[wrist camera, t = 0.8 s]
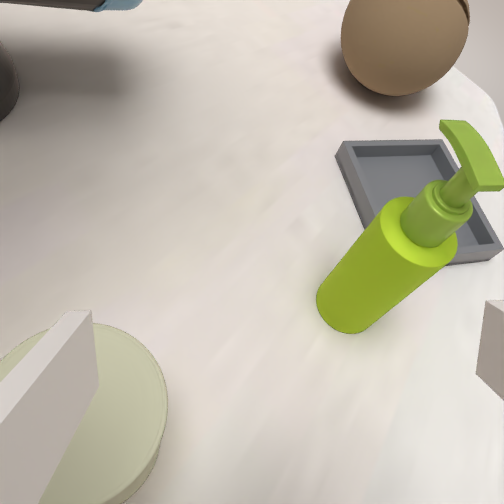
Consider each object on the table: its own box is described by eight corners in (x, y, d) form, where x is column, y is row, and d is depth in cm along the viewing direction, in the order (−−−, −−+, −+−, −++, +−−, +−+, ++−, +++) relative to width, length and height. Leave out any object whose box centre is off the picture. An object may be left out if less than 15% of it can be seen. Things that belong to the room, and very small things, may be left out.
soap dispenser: (360, 265, 44) (496, 115, 27) (382, 330, 41) (550, 205, 24) (307, 269, 43) (415, 111, 26) (325, 336, 39) (463, 207, 23)
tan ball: (444, 114, 60) (524, 10, 48) (354, 126, 55) (419, 11, 42) (391, 44, 66) (450, -65, 54) (306, 49, 61) (350, -71, 48)
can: (130, 355, 35) (126, 292, 25) (181, 466, 32) (201, 445, 22) (6, 413, 31) (-59, 365, 21) (50, 546, 28) (-1, 566, 18)
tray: (334, 156, 51) (343, 140, 49) (430, 153, 55) (442, 139, 53) (382, 273, 44) (394, 261, 42) (488, 260, 48) (504, 249, 46)
